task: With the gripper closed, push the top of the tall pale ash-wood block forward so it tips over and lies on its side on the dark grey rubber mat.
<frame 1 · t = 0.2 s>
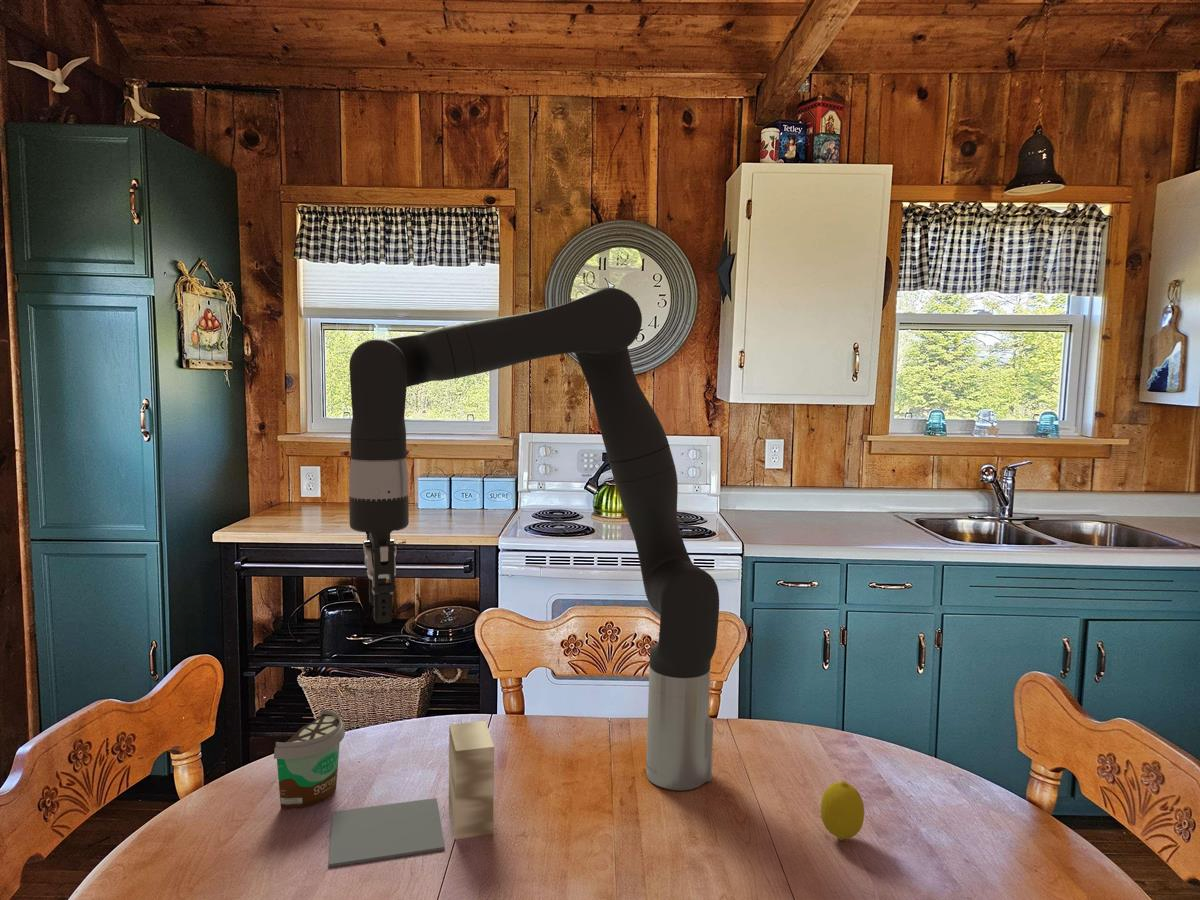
hand: (380, 612, 102), 29 cm above the table, tool pointing down, fingers open, 8 cm apart
lemon: (840, 840, 102), on the table
ash block: (470, 820, 105), on the table
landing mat: (386, 831, 101), on the table
food container: (319, 795, 110), on the table
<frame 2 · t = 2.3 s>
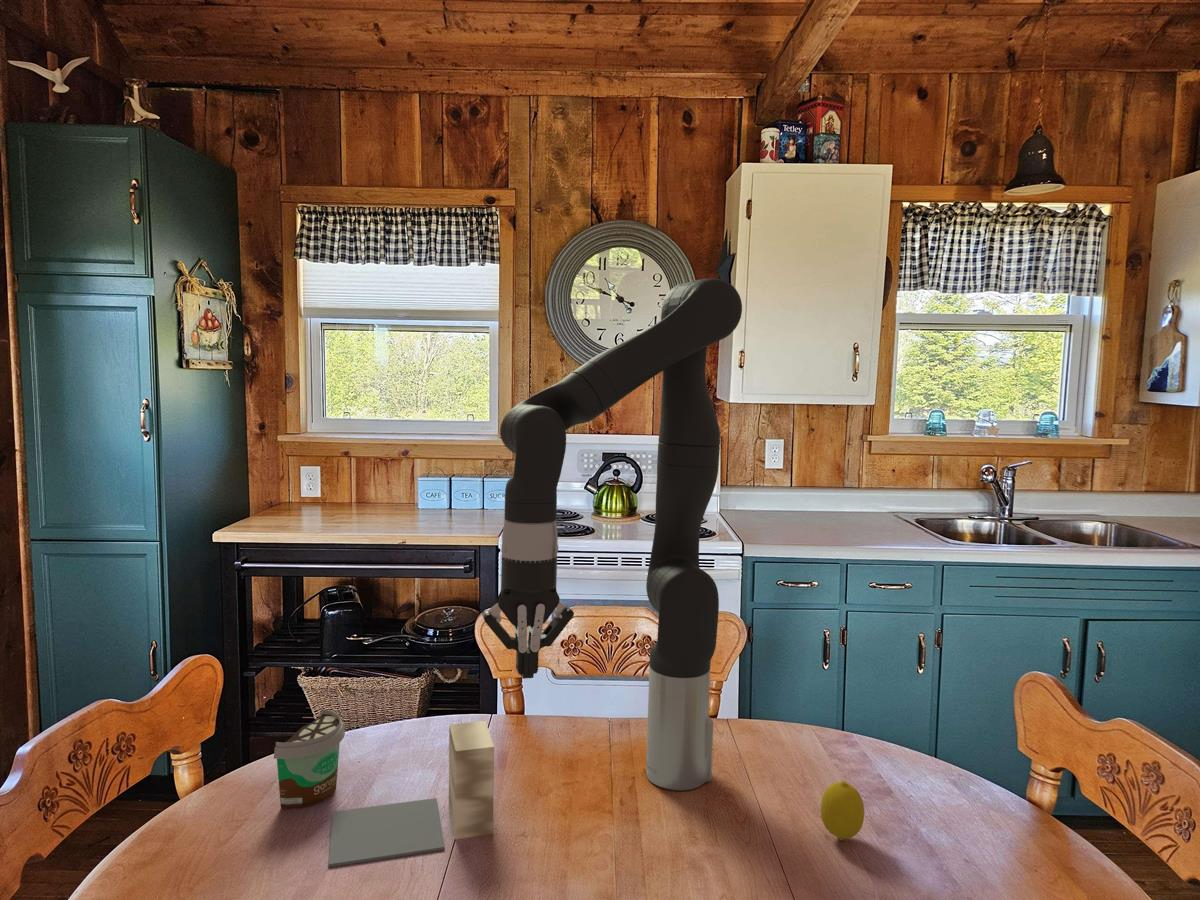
hand: (526, 676, 105), 19 cm above the table, tool pointing down, fingers closed
nothing on the table moved.
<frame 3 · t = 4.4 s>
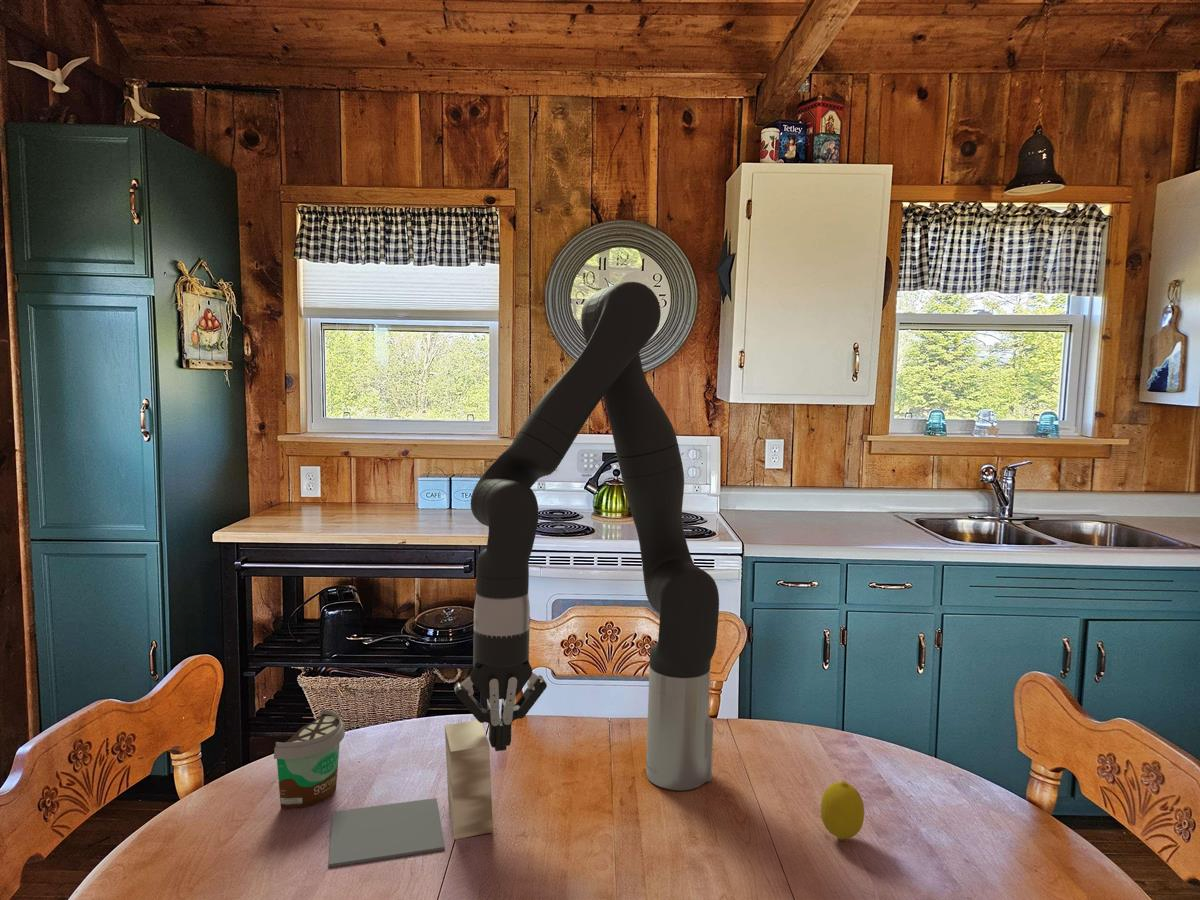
hand: (499, 748, 105), 10 cm above the table, tool pointing down, fingers closed
ash block: (470, 819, 105), on the table, touching gripper
everything else where it was.
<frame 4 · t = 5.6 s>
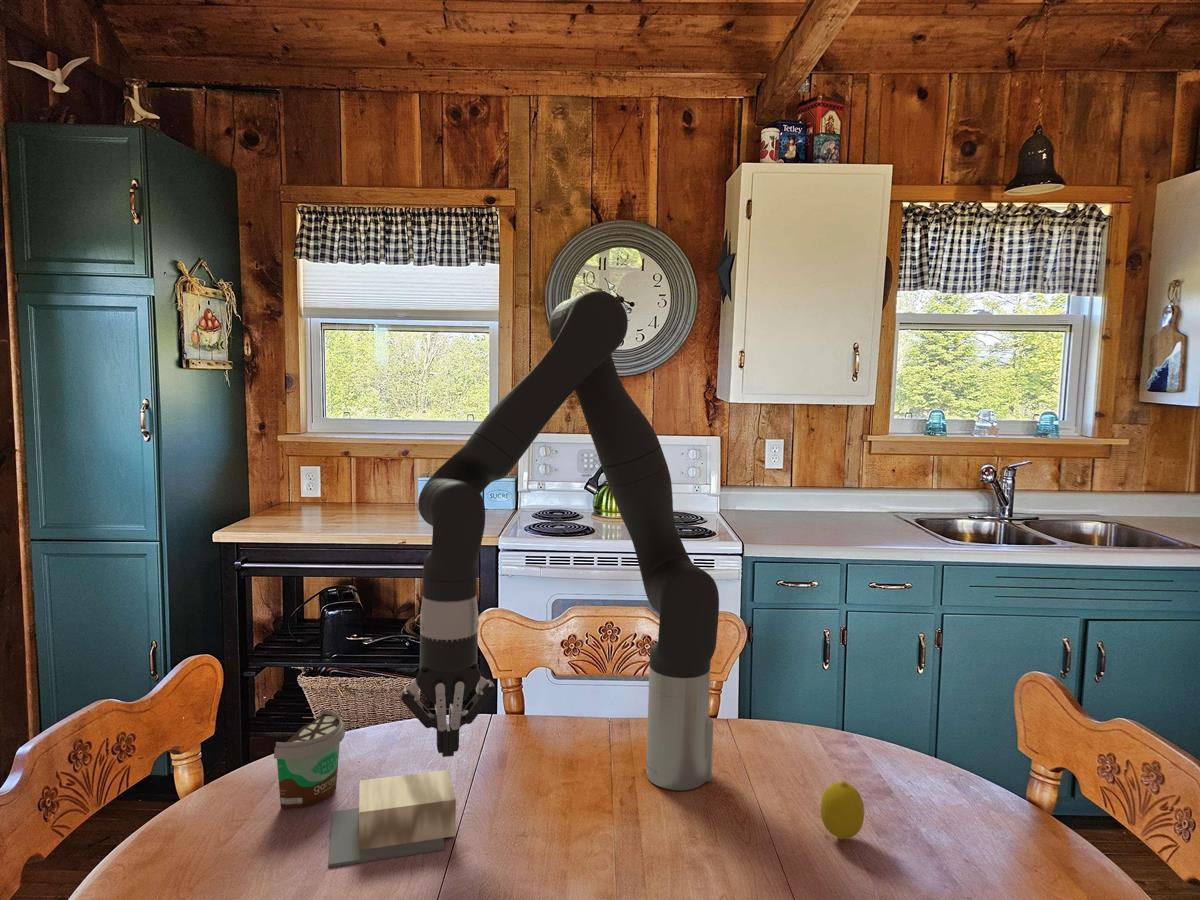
hand: (447, 754, 103), 10 cm above the table, tool pointing down, fingers closed
ash block: (452, 801, 104), point 3 cm above the table, tilted 90°, touching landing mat
everything else where it was.
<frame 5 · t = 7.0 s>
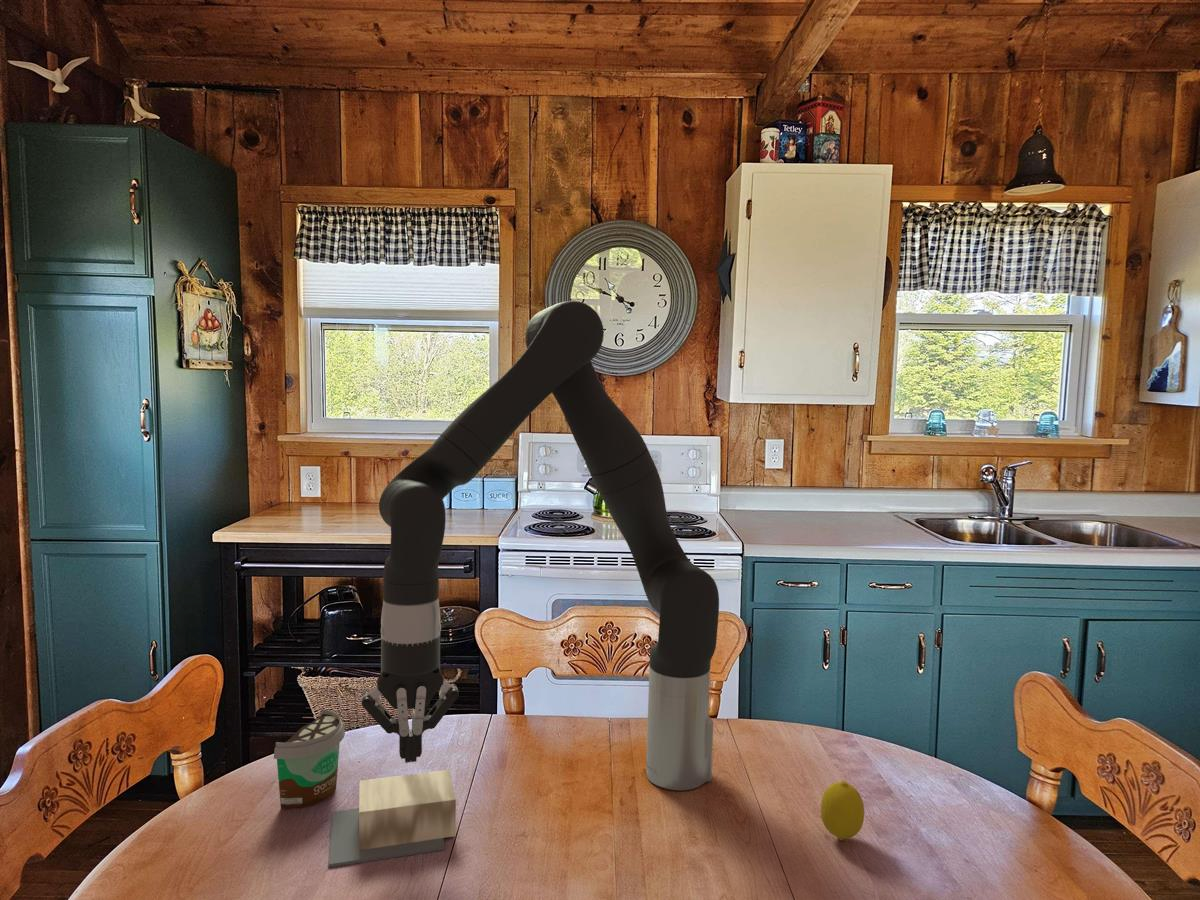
hand: (410, 759, 102), 10 cm above the table, tool pointing down, fingers closed
nothing on the table moved.
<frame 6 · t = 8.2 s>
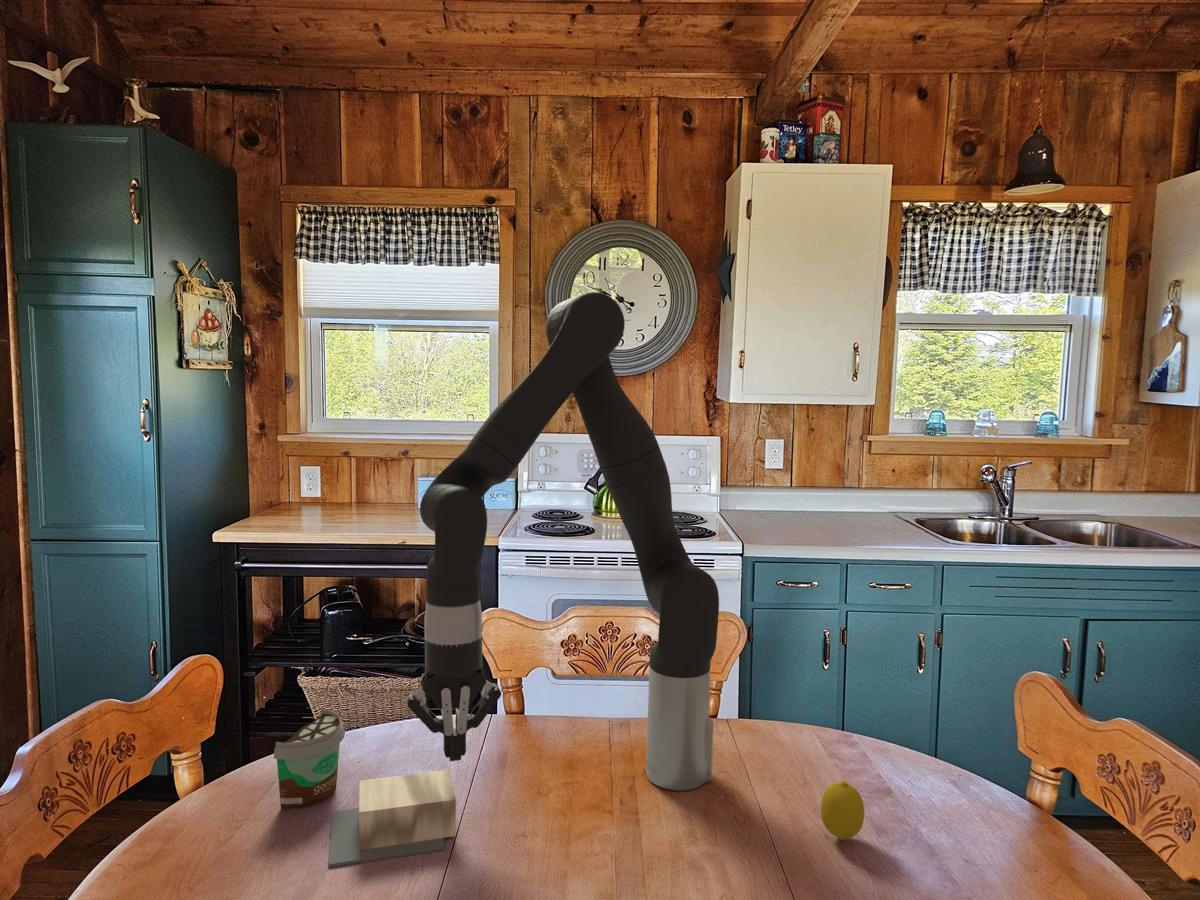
hand: (454, 758, 103), 9 cm above the table, tool pointing down, fingers closed
nothing on the table moved.
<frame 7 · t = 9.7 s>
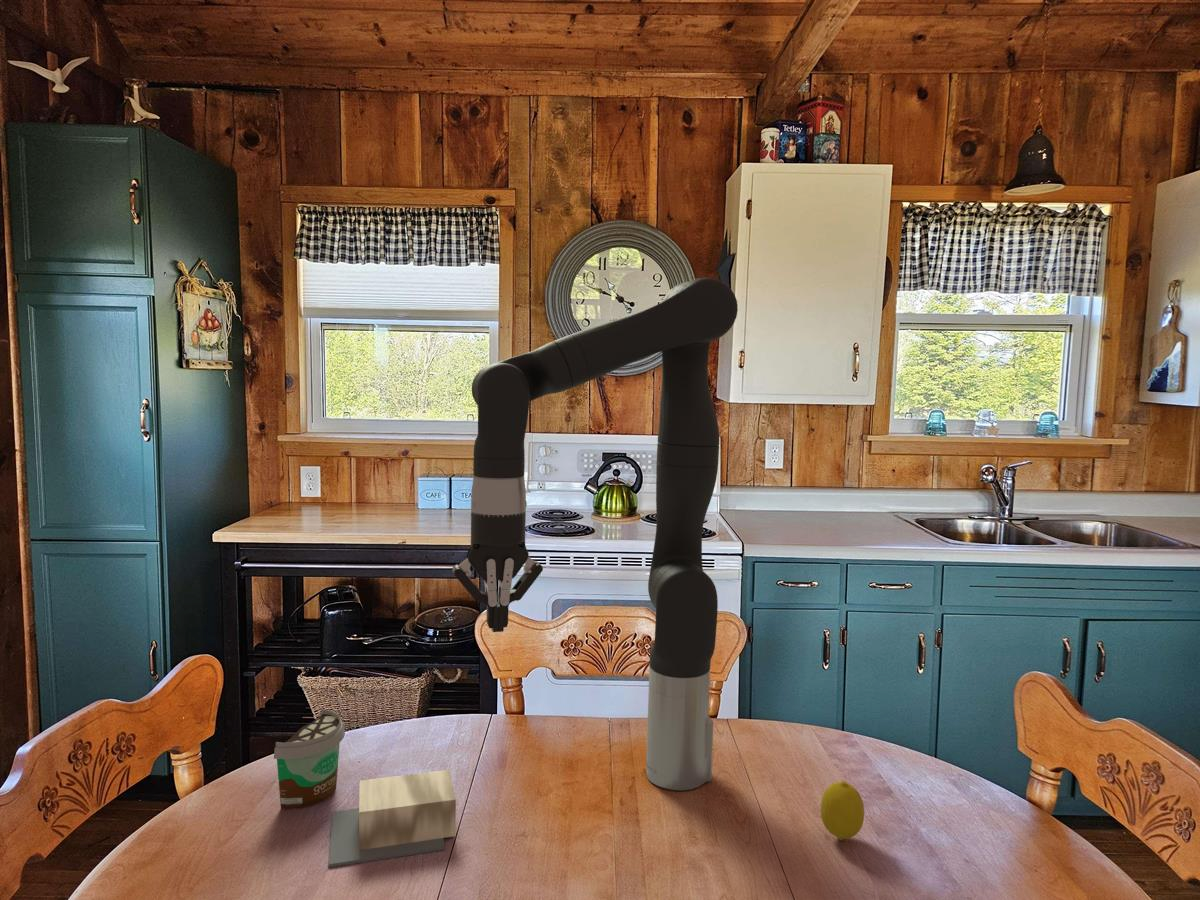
hand: (497, 630, 108), 25 cm above the table, tool pointing down, fingers closed
nothing on the table moved.
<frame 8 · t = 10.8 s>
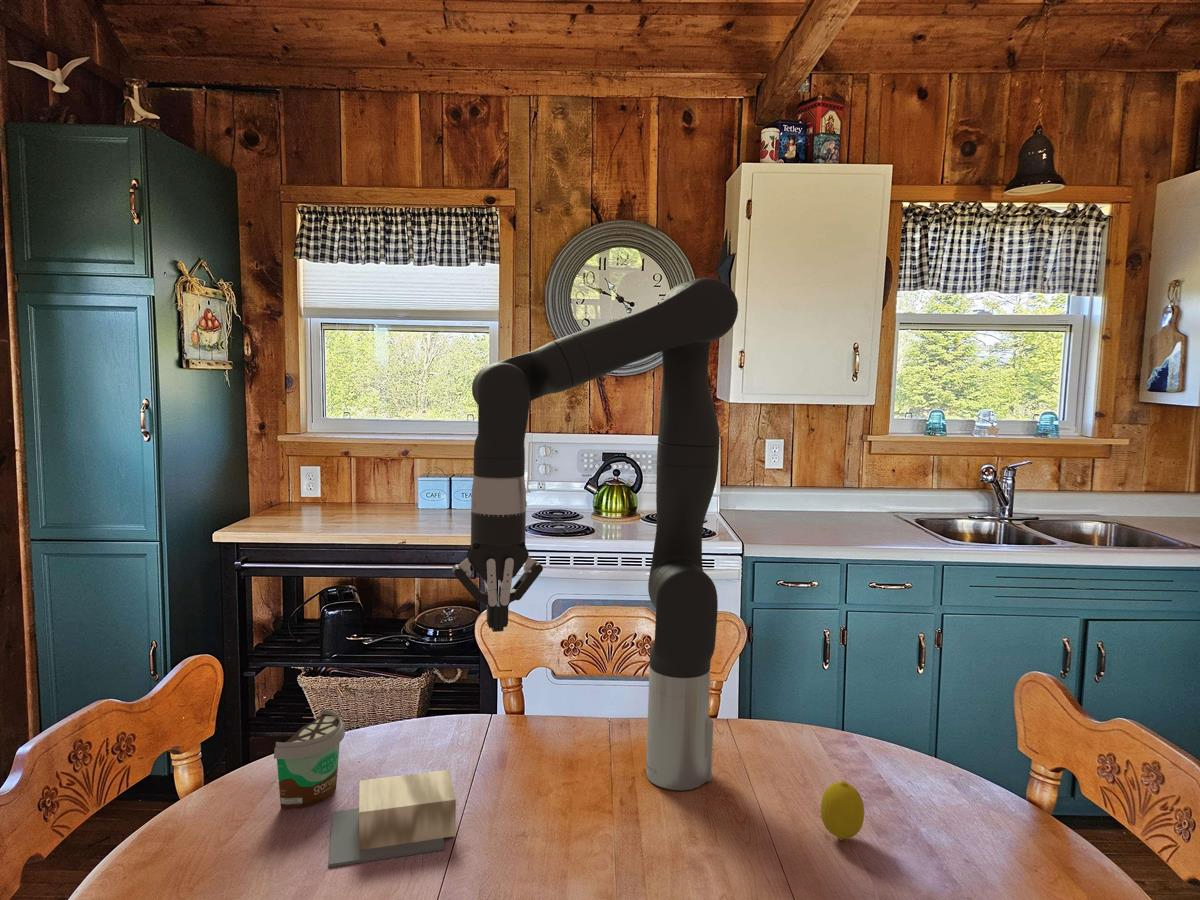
hand: (496, 629, 108), 25 cm above the table, tool pointing down, fingers closed
nothing on the table moved.
at the end: ash block tilted 90°; ash block inside the target area (1.6 cm from its centre), point 2.9 cm above the table; ash block touching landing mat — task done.
